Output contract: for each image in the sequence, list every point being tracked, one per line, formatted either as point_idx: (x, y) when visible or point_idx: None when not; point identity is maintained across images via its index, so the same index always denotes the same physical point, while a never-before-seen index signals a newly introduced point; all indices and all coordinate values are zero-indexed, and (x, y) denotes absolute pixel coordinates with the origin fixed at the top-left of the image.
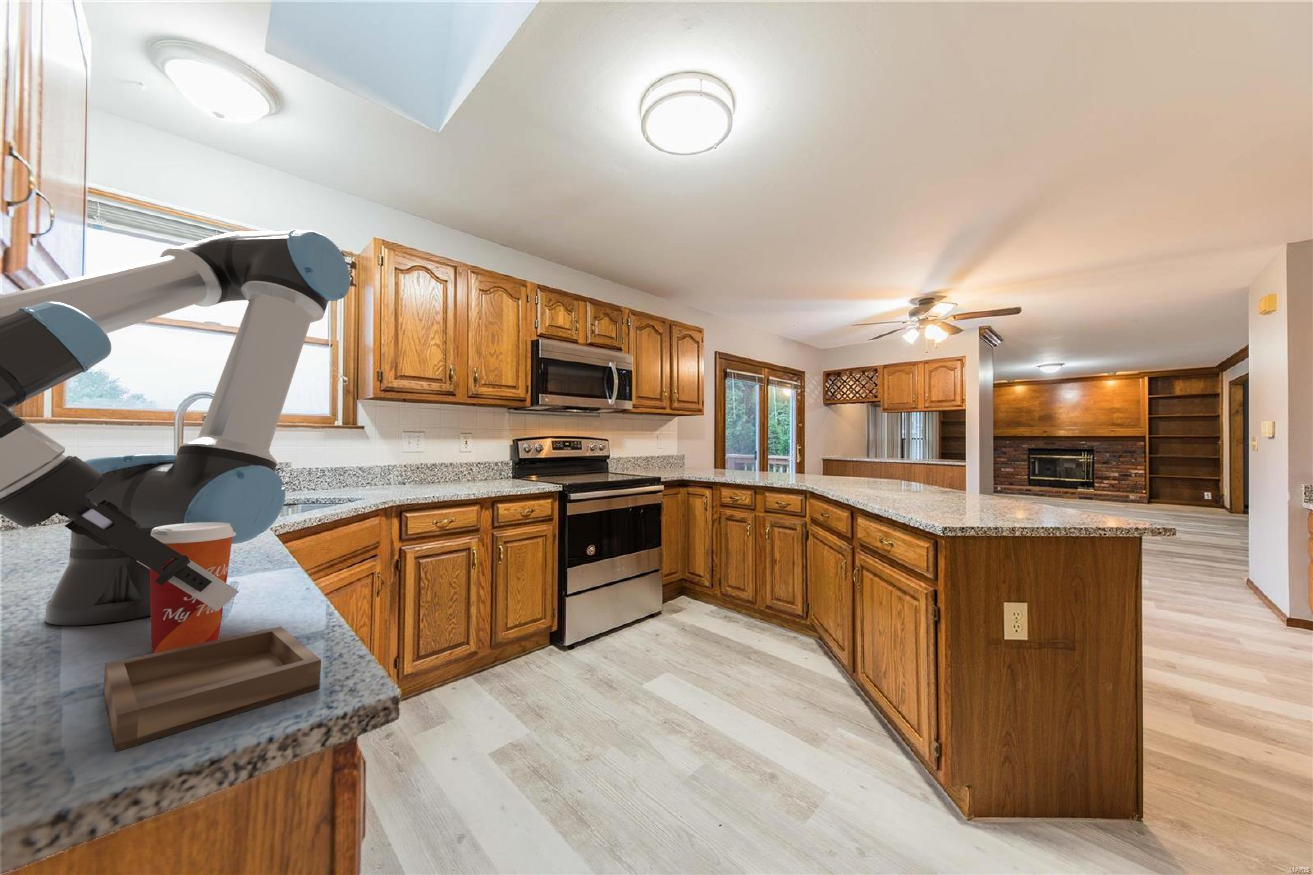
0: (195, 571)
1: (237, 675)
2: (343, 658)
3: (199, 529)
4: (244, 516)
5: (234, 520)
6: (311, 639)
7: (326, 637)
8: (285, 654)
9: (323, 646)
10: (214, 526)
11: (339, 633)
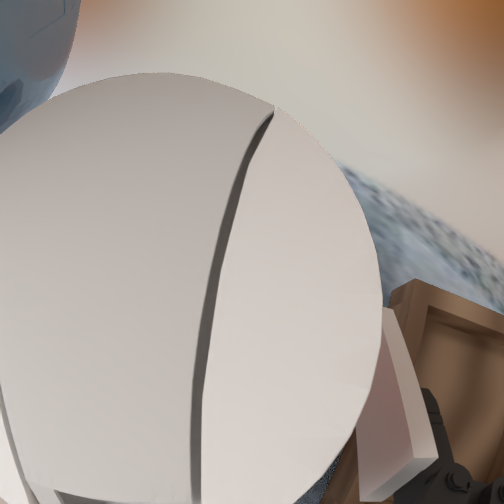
0: (448, 443)
1: (452, 389)
2: (483, 269)
3: (367, 385)
4: (46, 6)
5: (36, 35)
6: (383, 232)
7: (394, 216)
8: (482, 332)
9: (427, 247)
10: (264, 201)
11: (393, 196)
